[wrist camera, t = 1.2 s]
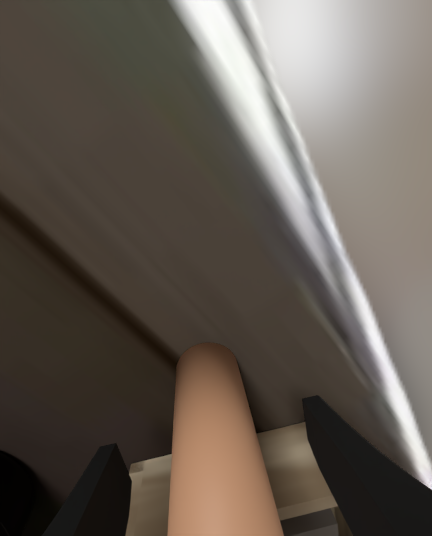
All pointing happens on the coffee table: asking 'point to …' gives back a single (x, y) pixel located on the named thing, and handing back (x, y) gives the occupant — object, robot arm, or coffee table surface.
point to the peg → (216, 452)
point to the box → (281, 481)
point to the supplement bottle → (14, 497)
